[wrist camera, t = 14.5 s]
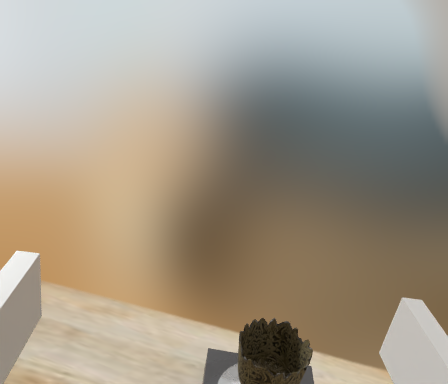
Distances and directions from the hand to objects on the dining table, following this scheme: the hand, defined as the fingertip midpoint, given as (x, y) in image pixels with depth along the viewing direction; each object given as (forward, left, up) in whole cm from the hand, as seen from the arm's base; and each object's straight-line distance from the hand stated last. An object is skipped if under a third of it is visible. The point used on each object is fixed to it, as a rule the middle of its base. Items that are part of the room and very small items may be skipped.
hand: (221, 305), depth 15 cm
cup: (+7, +20, -28) cm, 35 cm away
